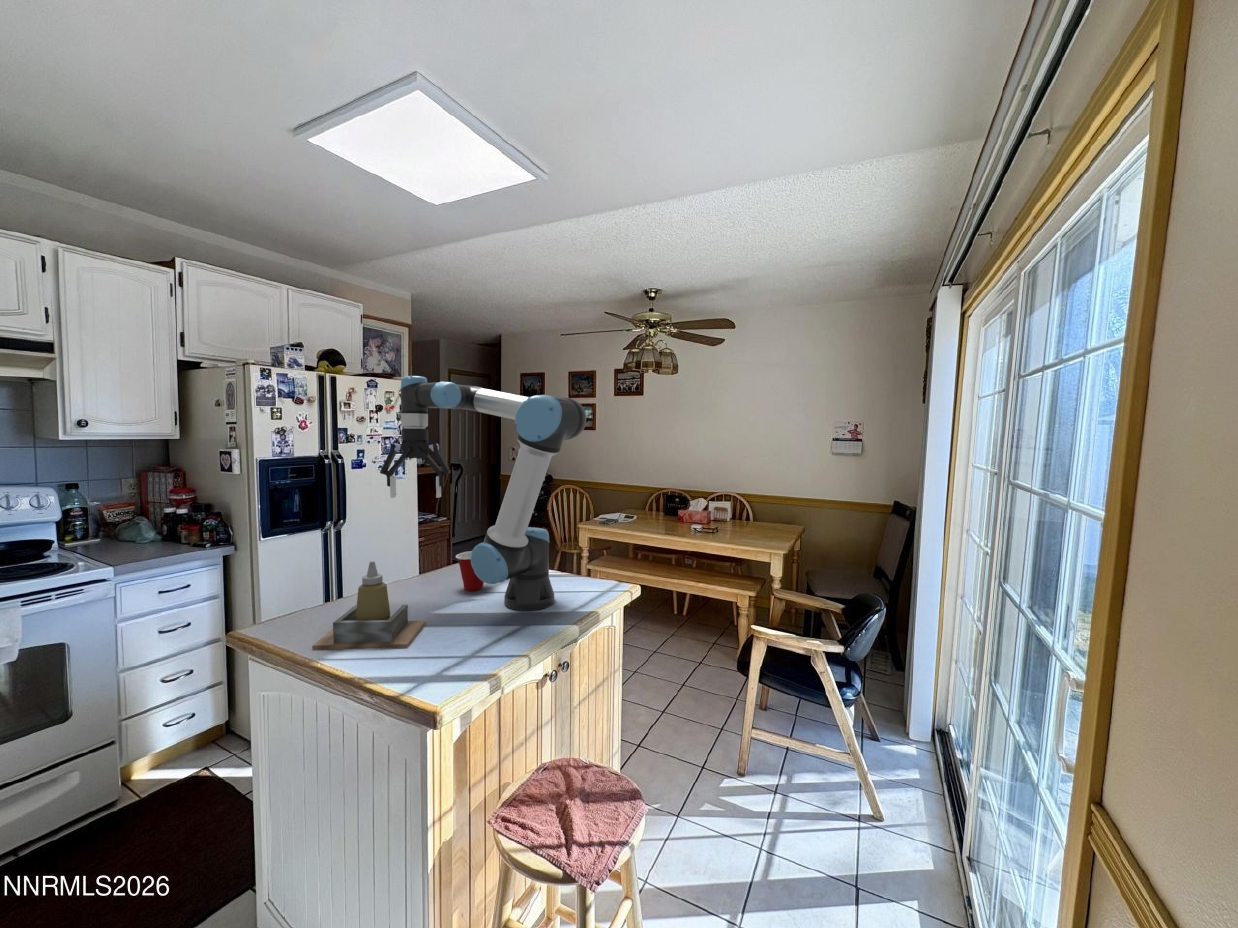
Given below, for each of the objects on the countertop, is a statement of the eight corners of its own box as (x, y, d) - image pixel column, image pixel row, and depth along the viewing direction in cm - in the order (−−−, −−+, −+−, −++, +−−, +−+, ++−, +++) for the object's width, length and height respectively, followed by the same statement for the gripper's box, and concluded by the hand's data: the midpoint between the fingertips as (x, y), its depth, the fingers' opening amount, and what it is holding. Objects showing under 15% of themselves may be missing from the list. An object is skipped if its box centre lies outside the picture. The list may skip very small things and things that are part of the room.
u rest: (426, 624, 138) (425, 602, 137) (407, 647, 123) (406, 623, 122) (341, 625, 136) (341, 603, 136) (312, 649, 121) (311, 624, 121)
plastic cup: (464, 582, 175) (464, 548, 174) (494, 584, 173) (494, 549, 172) (449, 592, 164) (449, 556, 163) (481, 594, 162) (481, 557, 162)
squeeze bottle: (376, 639, 125) (375, 567, 124) (348, 636, 127) (346, 565, 126) (397, 626, 133) (396, 559, 132) (370, 623, 135) (368, 557, 134)
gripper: (459, 428, 160) (460, 495, 161) (377, 427, 158) (379, 495, 159) (453, 428, 152) (454, 498, 154) (367, 427, 150) (369, 498, 152)
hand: (416, 497), depth 156 cm, fingers open, 13 cm apart
